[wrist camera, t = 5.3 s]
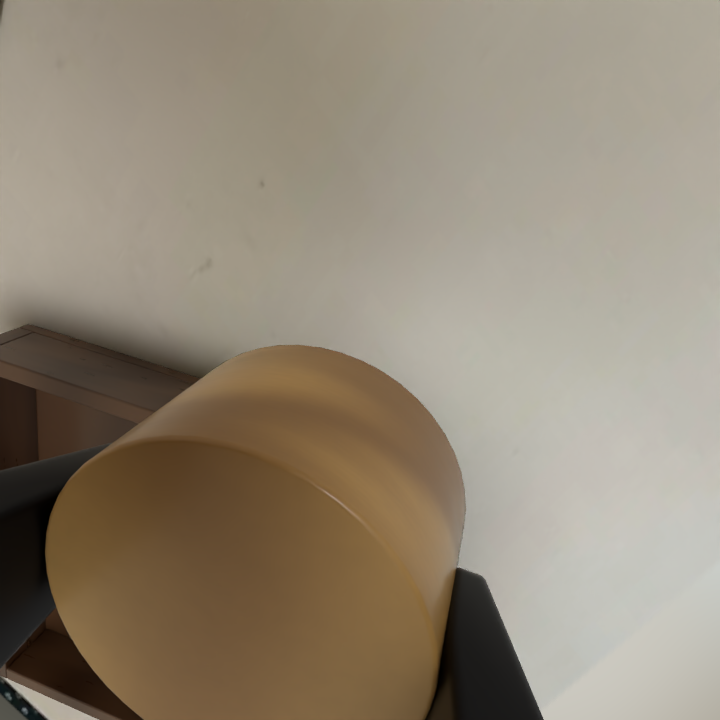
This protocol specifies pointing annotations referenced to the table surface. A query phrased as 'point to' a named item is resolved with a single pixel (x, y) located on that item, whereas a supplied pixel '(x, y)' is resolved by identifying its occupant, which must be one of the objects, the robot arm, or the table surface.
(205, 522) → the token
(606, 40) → the table surface
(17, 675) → the compartment tray
